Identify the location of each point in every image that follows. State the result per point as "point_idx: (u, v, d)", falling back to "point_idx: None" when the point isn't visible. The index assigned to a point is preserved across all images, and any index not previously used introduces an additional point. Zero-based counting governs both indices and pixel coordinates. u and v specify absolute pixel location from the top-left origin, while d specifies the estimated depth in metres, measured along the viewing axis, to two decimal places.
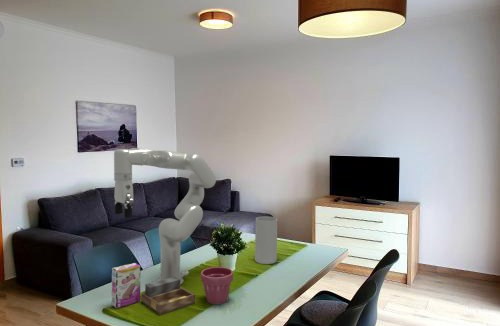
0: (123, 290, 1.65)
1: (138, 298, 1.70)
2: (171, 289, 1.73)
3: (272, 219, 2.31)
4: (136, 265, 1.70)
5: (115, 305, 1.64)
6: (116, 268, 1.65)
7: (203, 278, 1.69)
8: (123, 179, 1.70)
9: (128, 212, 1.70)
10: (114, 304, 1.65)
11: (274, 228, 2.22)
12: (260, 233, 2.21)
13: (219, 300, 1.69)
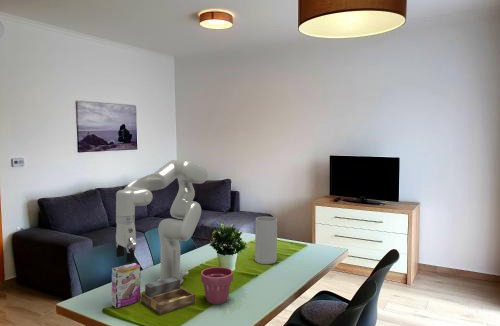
0: (123, 290, 1.65)
1: (138, 298, 1.70)
2: (171, 289, 1.73)
3: (272, 219, 2.31)
4: (136, 265, 1.70)
5: (115, 305, 1.64)
6: (116, 268, 1.65)
7: (203, 278, 1.69)
8: (125, 222, 1.63)
9: (130, 257, 1.62)
10: (114, 304, 1.65)
11: (274, 228, 2.22)
12: (260, 233, 2.21)
13: (219, 300, 1.69)
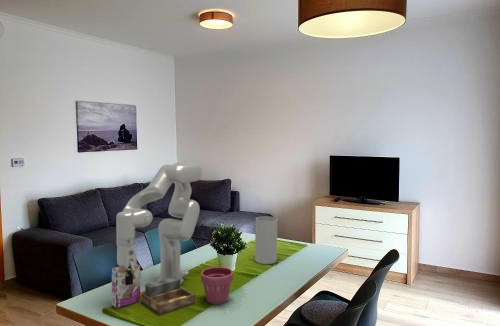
0: (123, 290, 1.65)
1: (138, 298, 1.70)
2: (171, 289, 1.73)
3: (272, 219, 2.31)
4: None
5: (115, 305, 1.64)
6: (116, 268, 1.65)
7: (203, 278, 1.69)
8: (126, 244, 1.63)
9: (129, 280, 1.65)
10: (114, 304, 1.65)
11: (274, 228, 2.22)
12: (260, 233, 2.21)
13: (219, 300, 1.69)
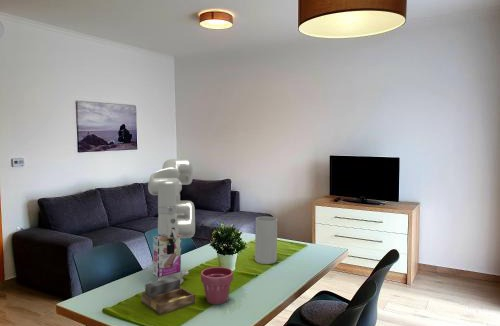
0: (165, 259, 1.63)
1: (179, 268, 1.68)
2: (171, 289, 1.73)
3: (272, 219, 2.31)
4: None
5: (157, 274, 1.62)
6: (157, 237, 1.63)
7: (203, 278, 1.69)
8: (168, 213, 1.61)
9: (171, 249, 1.63)
10: (155, 273, 1.63)
11: (274, 228, 2.22)
12: (260, 233, 2.21)
13: (219, 300, 1.69)
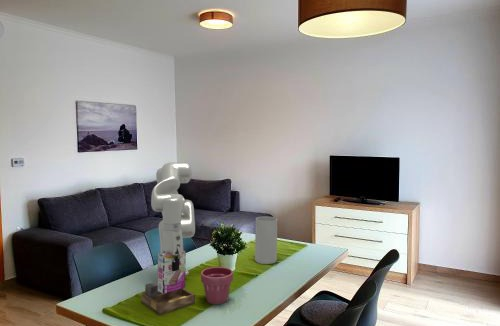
0: (170, 276, 1.63)
1: (183, 285, 1.69)
2: None
3: (272, 219, 2.31)
4: None
5: (162, 291, 1.62)
6: (162, 254, 1.63)
7: (203, 278, 1.69)
8: (173, 229, 1.62)
9: (176, 265, 1.63)
10: (160, 290, 1.63)
11: (274, 228, 2.22)
12: (260, 233, 2.21)
13: (219, 300, 1.69)
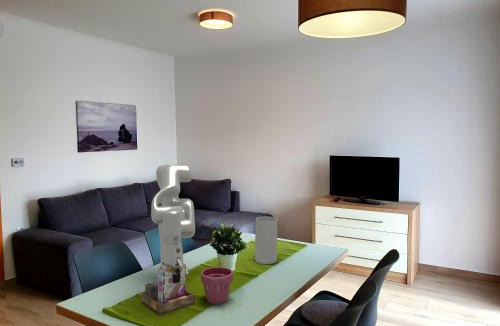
0: (170, 289, 1.64)
1: None
2: None
3: (272, 219, 2.31)
4: None
5: None
6: (163, 267, 1.64)
7: (203, 278, 1.69)
8: (173, 242, 1.62)
9: (177, 278, 1.63)
10: (160, 303, 1.64)
11: (274, 228, 2.22)
12: (260, 233, 2.21)
13: (219, 300, 1.69)
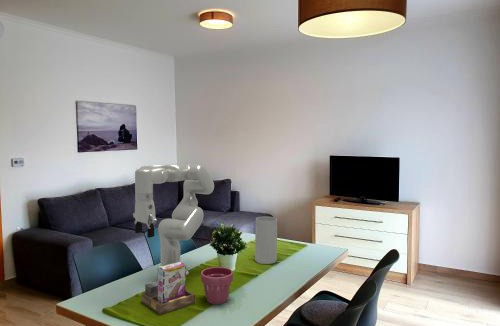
0: (170, 289, 1.64)
1: None
2: None
3: (272, 219, 2.31)
4: (181, 264, 1.69)
5: None
6: (162, 267, 1.64)
7: (203, 278, 1.69)
8: (145, 199, 1.69)
9: (151, 232, 1.70)
10: (160, 303, 1.64)
11: (274, 228, 2.22)
12: (260, 233, 2.21)
13: (219, 300, 1.69)
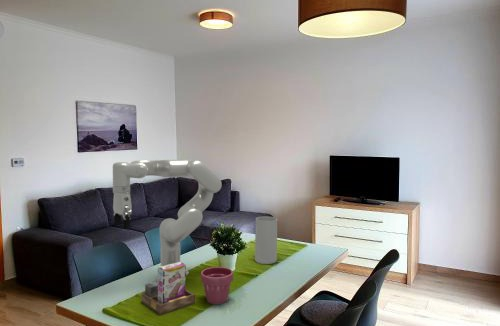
0: (170, 289, 1.64)
1: None
2: None
3: (272, 219, 2.31)
4: (181, 264, 1.69)
5: None
6: (162, 267, 1.64)
7: (203, 278, 1.69)
8: (121, 191, 1.76)
9: (126, 223, 1.76)
10: (160, 303, 1.64)
11: (274, 228, 2.22)
12: (260, 233, 2.21)
13: (219, 300, 1.69)
